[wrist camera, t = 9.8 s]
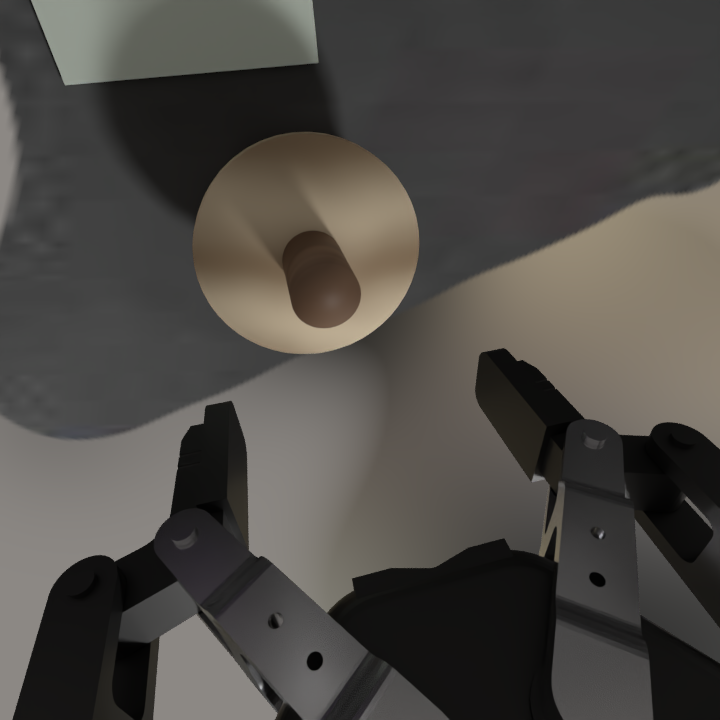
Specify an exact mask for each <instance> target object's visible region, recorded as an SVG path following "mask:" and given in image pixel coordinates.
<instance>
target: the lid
mask: <svg viewBox="0 0 720 720" xmlns="http://www.w3.org/2000/svg"><path fill="white" fill-rule="evenodd" d="M418 252H419V230H418V225H417V219H416V215H415V212H414V209H413V206H412V203H411V200H410V198H409V196H408V194H407V192H406V190H405V189H404V187H403V186H402V184H401V183H400V181H399V180H398V178H397V177H396V176H395V175H394V173H393V172H392V171H391V170H390V169H389V168H388V167H387V166H386V165H385V164H384V163H383V162H382V161H380V160H379V159H378V158H377V157H376V156H374V155H373V154H371V153H370V152H369V151H367V150H365V149H364V148H362V147H360V146H359V145H357V144H355V143H353V142H351V141H348V140H346V139H344V138H341V137H337V136H334V135H330V134H326V133H317V132H291V133H286V134H280V135H276V136H273V137H270V138H267V139H264V140H261V141H259V142H257V143H255V144H253V145H251V146H249V147H247V148H246V149H244V150H243V151H242V152H240V153H239V154H237V155H236V156H235V157H233V158H232V159H231V160H230V161H229V162H228V163H227V164H226V165H225V166H224V167H223V168H222V169H221V170H220V171H219V173H218V174H217V175H216V177H215V178H214V179H213V181H212V182H211V183H210V185H209V187H208V189H207V191H206V193H205V195H204V196H203V199H202V202H201V205H200V207H199V210H198V213H197V217H196V222H195V227H194V232H193V259H194V266H195V270H196V274H197V278H198V281H199V283H200V286H201V289H202V291H203V293H204V295H205V297H206V298H207V300H208V302H209V304H210V305H211V307H212V308H213V309H214V311H215V312H216V313H217V315H218V316H219V317H220V318H221V319H222V320H223V321H224V322H225V323H226V324H227V325H228V326H229V327H231V328H232V329H233V330H234V331H236V332H237V333H238V334H240V335H241V336H243V337H245V338H246V339H248V340H250V341H252V342H254V343H256V344H258V345H260V346H263V347H266V348H269V349H272V350H276V351H281V352H286V353H295V354H314V353H321V352H327V351H331V350H335V349H339V348H342V347H344V346H347V345H350V344H352V343H354V342H356V341H358V340H360V339H362V338H363V337H365V336H367V335H368V334H370V333H371V332H373V331H374V330H375V329H376V328H378V327H379V326H380V325H382V323H384V322H385V321H386V320H387V319H388V318H389V317H390V316H391V314H392V313H393V312H394V311H395V309H396V308H397V307H398V306H399V304H400V303H401V301H402V299H403V298H404V296H405V295H406V293H407V290H408V288H409V286H410V284H411V282H412V279H413V276H414V273H415V270H416V265H417V260H418Z"/></svg>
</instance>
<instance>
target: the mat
mask: <svg viewBox="0 0 720 720" xmlns="http://www.w3.org/2000/svg"><path fill="white" fill-rule="evenodd" d="M31 1H32V4H33V6H34V9H35V11H36V14H37V16H38V19H39V21H40V24H41V26H42V29H43V31H44V34H45V36H46V39H47V41H48V44H49V46H50V49H51V51H52V54H53V56H54V59H55V61H56V64H57V66H58V69H59V71H60V74H61V76H62V79H63V81H64V84H65V85H73V84H85V83H96V82H108V81H119V80H130V79H142V78H153V77H165V76H176V75H187V74H199V73H210V72H221V71H233V70H244V69H256V68H267V67H278V66H290V65H301V64H312V63H319V62H318V52H317V43H316V33H315V23H314V13H313V4H312V0H31Z"/></svg>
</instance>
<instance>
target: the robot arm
mask: <svg viewBox="0 0 720 720" xmlns="http://www.w3.org/2000/svg"><path fill="white" fill-rule="evenodd" d="M475 392H476V398H477V401H478V404H479V406H480V407H481V409H482V410H483V412H484V413H485V415H486V416H487V418H488V419H489V421H490V422H491V423H492V425H493V426H494V428H495V429H496V431H497V432H498V434H499V435H500V437H501V438H502V440H503V441H504V443H505V444H506V446H507V447H508V449H509V450H510V451H511V453H512V454H513V456H514V457H515V459H516V460H517V462H518V463H519V464H520V466H521V468H522V469H523V471H524V472H525V473H526V475H527V476H528V478H529V479H530V481H531V482H535V481H539V480H543V479H546V481H547V482H548V483H549V488H548V492H547V500H546V509H545V517H544V525H543V533H542V541H541V546H540V551H539V555H536V554H533V553H529V552H525V551H518V550H510V548H509V546H508V545H507V543H506V541H505V539H500V540H496V541H492V542H488V543H485V544H481V545H478V546H473V547H470V548H468V549H466V550H464V551H462V552H461V553H459V554H457V555H455V556H454V557H452V558H450V559H449V560H447V561H446V562H444V563H442V564H440V565H439V566H437V567H434V568H390V569H386V570H382V571H379V572H375V573H371V574H367V575H364V576H360V577H356V578H353V579H352V581H353V587H354V591H352V592H351V593H349V594H347V595H346V596H344V597H343V598H342V599H341V600H339V601H338V602H337V603H336V604H335V605H334V606H333V607H332V608H331V609H330V610H329V612H328V613H326V612H325V611H324V610H323V609H322V608H321V607H320V606H319V605H317V604H316V603H315V602H314V601H313V600H312V599H311V598H310V597H309V596H308V595H307V594H305V593H304V592H303V591H302V590H301V589H300V588H299V587H298V586H297V585H296V584H295V583H293V582H292V581H291V580H290V579H289V578H288V577H287V576H286V575H285V574H284V573H283V572H281V571H280V570H279V569H278V568H277V567H276V566H275V565H274V564H273V563H271V562H270V561H269V560H268V559H266V558H265V557H262V556H261V557H259V558H257V557H256V556H254V555H253V554H252V553H251V552H250V551H249V546H248V545H249V541H248V487H247V452H246V444H245V439H244V436H243V432H242V429H241V426H240V423H239V420H238V417H237V414H236V411H235V408H234V405H233V403H232V401H228V402H223V403H218V404H213V405H208V406H206V408H205V416H204V424H199V425H194V426H191V427H190V428H189V430H188V432H187V433H186V434H185V436H184V438H183V439H182V441H181V448H180V458H179V462H178V470H177V475H176V481H175V488H174V495H173V501H172V508H171V514H170V518H169V519H167V520H166V521H165V522H164V523H163V524H162V525H161V527H160V528H159V530H158V532H157V533H156V536H155V539H153V540H152V541H151V542H150V543H148V544H147V545H145V546H143V547H142V548H140V549H138V550H136V551H134V552H132V553H131V554H129V555H127V556H125V557H123V558H121V559H119V560H117V561H115V562H114V560H113V559H111V558H110V557H107V556H102V555H96V556H91V557H88V558H85V559H83V560H81V561H79V562H77V563H75V564H74V565H72V566H71V567H70V568H68V569H67V570H66V571H65V572H64V573H63V574H62V575H61V576H60V577H59V578H58V580H57V581H56V582H55V584H54V586H53V587H52V589H51V591H50V594H49V596H48V600H47V603H46V607H45V610H44V613H43V617H42V620H41V624H40V628H39V631H38V634H37V638H36V641H35V644H34V648H33V651H32V655H31V658H30V662H29V665H28V669H27V672H26V675H25V679H24V683H23V686H22V689H21V692H20V696H19V699H18V703H17V706H16V710H15V713H14V716H13V720H153V712H154V699H155V687H156V674H157V661H158V649H159V637H160V636H161V635H163V634H164V633H166V632H167V631H169V630H171V629H172V628H174V627H176V626H177V625H179V624H181V623H182V622H184V621H186V620H187V619H189V618H190V617H192V616H194V615H195V614H197V615H198V617H199V618H200V619H201V620H202V621H203V623H204V624H205V625H206V626H207V627H208V629H209V630H210V631H211V632H212V633H213V635H214V636H215V637H216V638H217V639H218V640H219V642H220V643H221V644H222V645H223V646H224V648H225V649H226V650H227V651H228V652H229V653H230V655H231V656H232V657H233V658H234V659H235V661H236V662H237V663H238V665H240V667H241V669H242V670H243V671H244V672H245V674H246V675H247V677H248V678H249V679H250V680H251V682H252V683H253V684H254V685H255V687H256V688H257V689H258V690H259V692H260V693H261V694H262V695H263V696H264V698H265V699H266V700H267V701H268V702H269V704H270V705H271V706H272V707H273V708H274V709H275V711H276V712H277V713H278V714H277V717H276V719H275V720H720V663H718V662H717V661H715V660H713V659H712V658H710V657H709V656H707V655H705V654H704V653H702V652H700V651H699V650H697V649H696V648H694V647H692V646H691V645H689V644H687V643H686V642H684V641H682V640H681V639H679V638H677V637H676V636H674V635H673V634H671V633H669V632H667V631H666V630H664V629H663V628H661V627H660V626H658V625H656V624H655V623H653V622H651V621H650V620H648V619H646V618H645V617H643V616H642V615H640V603H639V587H638V570H637V569H638V568H637V553H636V535H635V519H636V521H637V522H638V523H639V524H640V526H641V527H642V528H643V530H644V531H645V532H646V533H647V535H648V536H649V537H650V539H651V540H652V541H653V543H654V544H655V545H656V546H657V548H658V549H659V550H660V552H661V553H662V554H663V555H664V557H665V558H666V559H667V561H668V562H669V563H670V564H671V566H672V567H673V568H674V570H675V571H676V572H677V573H678V575H679V576H680V577H681V579H682V580H683V581H684V583H685V584H686V585H687V586H688V588H689V589H690V590H691V592H692V593H693V594H694V595H695V597H696V598H697V599H698V601H699V602H700V603H701V604H702V606H703V607H704V608H705V610H706V611H707V612H708V613H709V615H710V616H711V617H712V618H713V620H714V621H715V623H716V624H717V625H718V626H719V627H720V449H719V448H718V447H716V446H715V445H714V444H713V443H712V442H711V441H710V440H709V439H707V438H706V437H705V436H704V435H703V434H701V433H700V432H698V431H697V430H695V429H693V428H691V427H688V426H685V425H682V424H678V423H670V422H667V423H661V424H658V425H656V426H655V427H654V428H653V429H652V431H651V434H650V435H649V436H633V435H619V434H618V433H617V432H616V431H615V430H613V429H612V428H611V427H609V426H608V425H606V424H604V423H601V422H599V421H595V420H587V419H584V418H583V416H582V415H581V414H580V413H579V412H578V411H577V410H576V409H575V408H574V407H573V406H572V405H571V404H570V403H569V402H568V401H567V399H566V398H565V397H564V396H563V395H562V394H561V393H560V392H559V391H558V390H557V389H555V387H554V386H553V385H552V384H551V383H550V381H547V378H546V377H545V376H544V375H543V374H542V373H541V372H540V371H539V370H538V369H537V368H536V367H534V366H532V365H530V364H528V363H527V362H524V361H523V360H521V361H516V359H515V358H514V357H513V356H512V355H511V354H510V353H509V352H508V351H507V350H506V349H504V348H502V349H497V350H492V351H487V352H482V353H481V354H480V356H479V362H478V371H477V379H476V387H475ZM686 496H687V497H688V498H689V499H690V500H691V501H692V502H693V504H695V506H696V507H697V508H698V509H699V510H700V511H701V512H702V513H703V514H704V515H705V517H706V518H707V519H708V520H709V522H710V523H711V526H712V529H713V530H712V529H711V528H710V527H709V526H708V525H707V524H706V523H705V522H704V521H703V519H702V518H701V517H700V516H699V515H698V514H697V513H696V512H695V511H694V510H693V509H692V508H691V506H690V505H689V504H688V503H687V502H686V501H685V500H684V499H685V497H686Z"/></svg>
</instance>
